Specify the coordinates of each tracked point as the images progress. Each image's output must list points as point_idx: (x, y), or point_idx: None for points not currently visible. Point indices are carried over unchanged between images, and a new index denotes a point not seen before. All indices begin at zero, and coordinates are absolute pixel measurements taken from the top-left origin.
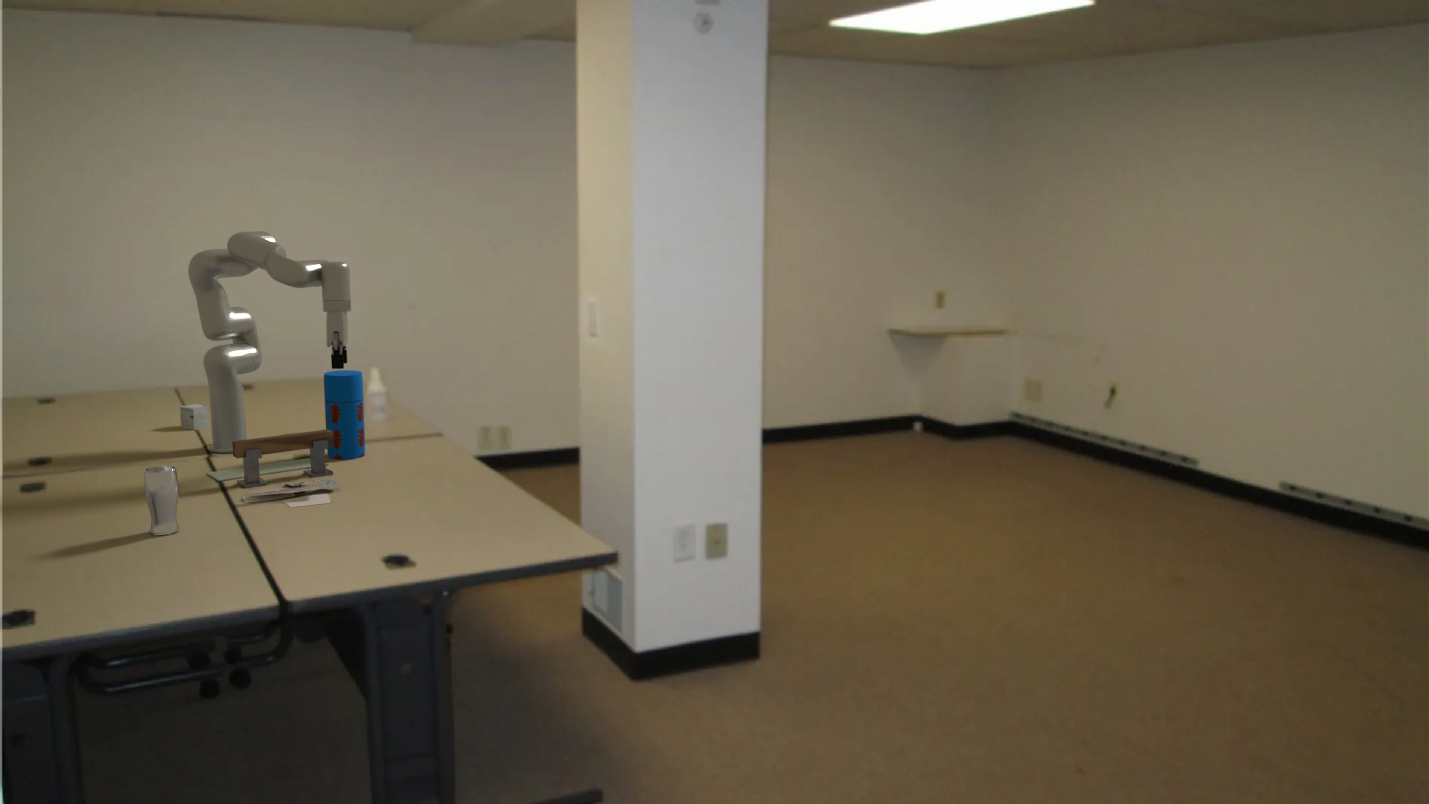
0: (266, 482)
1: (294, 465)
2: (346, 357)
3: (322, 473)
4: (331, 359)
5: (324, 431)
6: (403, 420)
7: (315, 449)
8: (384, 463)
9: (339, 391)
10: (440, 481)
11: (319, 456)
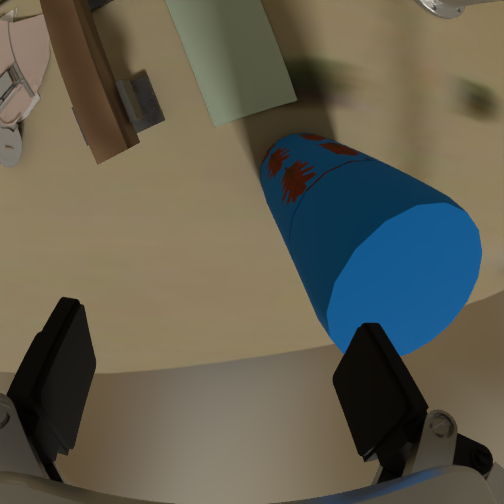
0: None
1: (222, 52)
2: (346, 410)
3: None
4: (30, 353)
5: (96, 139)
6: (489, 287)
7: None
8: (199, 247)
9: (307, 234)
10: None
11: None
